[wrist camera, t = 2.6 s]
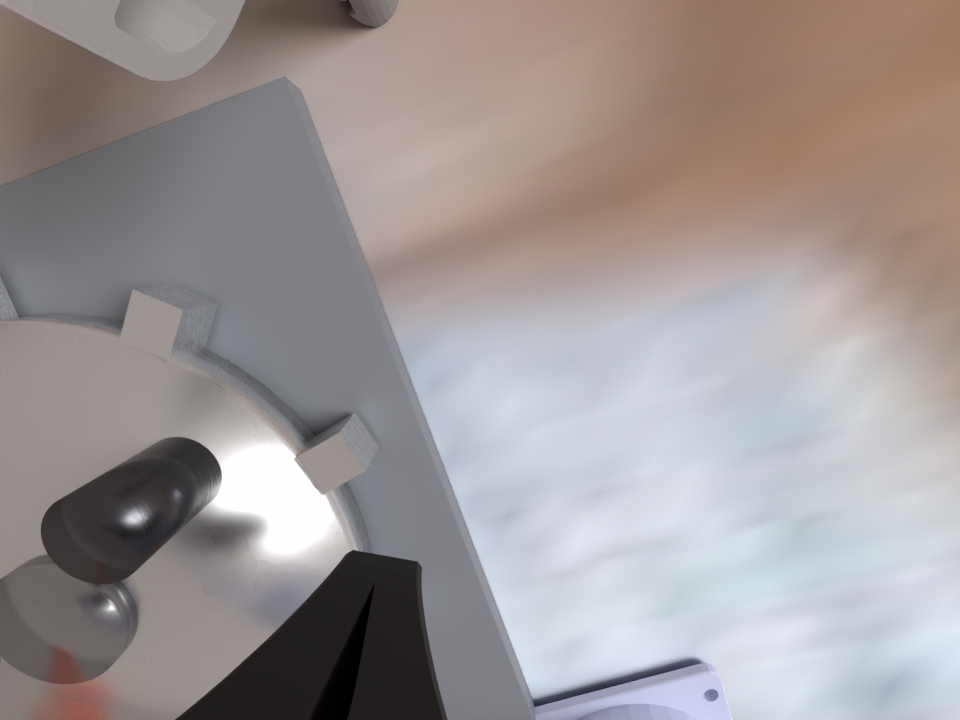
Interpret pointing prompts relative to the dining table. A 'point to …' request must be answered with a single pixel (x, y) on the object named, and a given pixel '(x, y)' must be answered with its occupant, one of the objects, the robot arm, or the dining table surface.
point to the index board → (271, 326)
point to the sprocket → (152, 510)
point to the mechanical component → (158, 29)
